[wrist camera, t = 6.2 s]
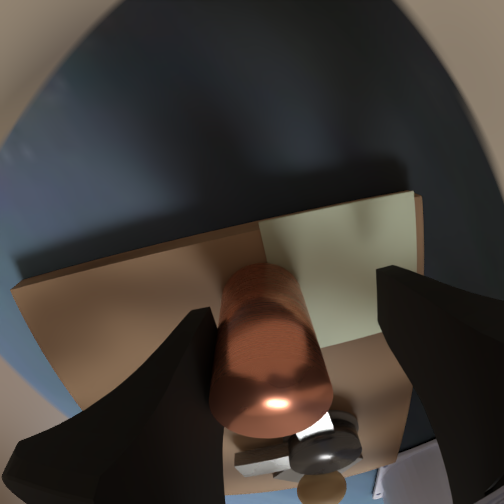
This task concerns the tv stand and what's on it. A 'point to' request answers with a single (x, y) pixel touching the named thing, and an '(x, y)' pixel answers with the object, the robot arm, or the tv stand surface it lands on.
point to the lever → (275, 378)
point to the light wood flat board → (210, 295)
